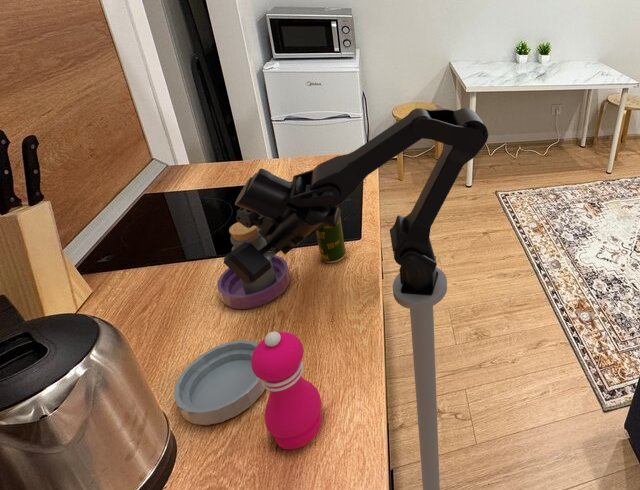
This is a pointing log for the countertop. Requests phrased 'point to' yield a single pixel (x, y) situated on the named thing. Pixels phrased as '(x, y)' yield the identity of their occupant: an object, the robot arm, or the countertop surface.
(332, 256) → the beer can
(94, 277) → the countertop surface
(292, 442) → the pepper mill
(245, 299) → the bowl
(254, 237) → the bottle
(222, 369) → the bowl
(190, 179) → the countertop surface
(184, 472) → the countertop surface
